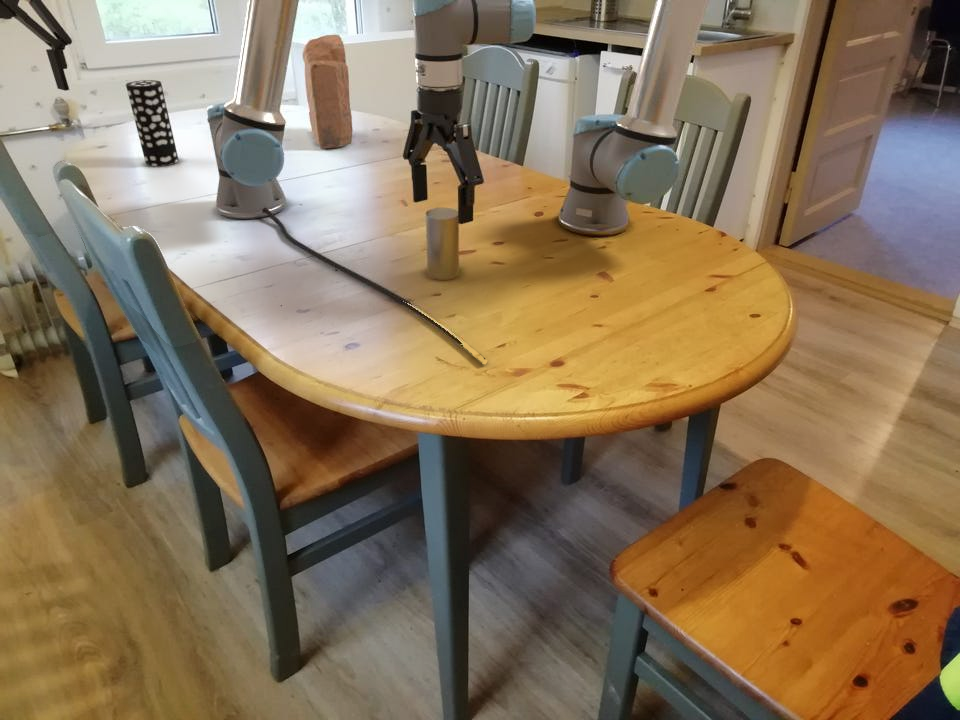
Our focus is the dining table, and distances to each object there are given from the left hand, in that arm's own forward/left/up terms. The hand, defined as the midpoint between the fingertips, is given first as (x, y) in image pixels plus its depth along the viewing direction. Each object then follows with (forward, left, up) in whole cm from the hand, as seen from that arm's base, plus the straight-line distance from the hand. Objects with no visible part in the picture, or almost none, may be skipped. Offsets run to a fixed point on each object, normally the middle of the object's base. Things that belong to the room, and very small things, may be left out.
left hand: (24, 95), depth 119 cm
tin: (-41, -60, -30) cm, 79 cm away
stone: (+58, -72, -30) cm, 97 cm away
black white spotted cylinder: (+56, -23, -20) cm, 64 cm away
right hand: (-41, -60, -18) cm, 75 cm away
